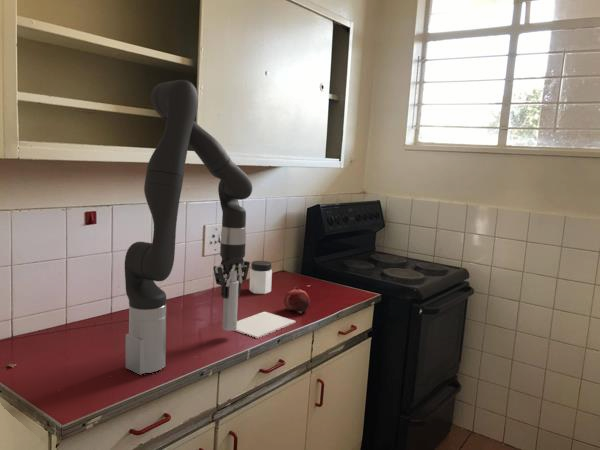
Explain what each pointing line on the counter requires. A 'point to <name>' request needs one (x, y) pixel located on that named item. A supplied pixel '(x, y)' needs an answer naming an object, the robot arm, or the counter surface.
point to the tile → (262, 324)
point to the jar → (260, 277)
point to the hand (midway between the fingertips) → (230, 296)
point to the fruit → (297, 300)
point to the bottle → (231, 305)
